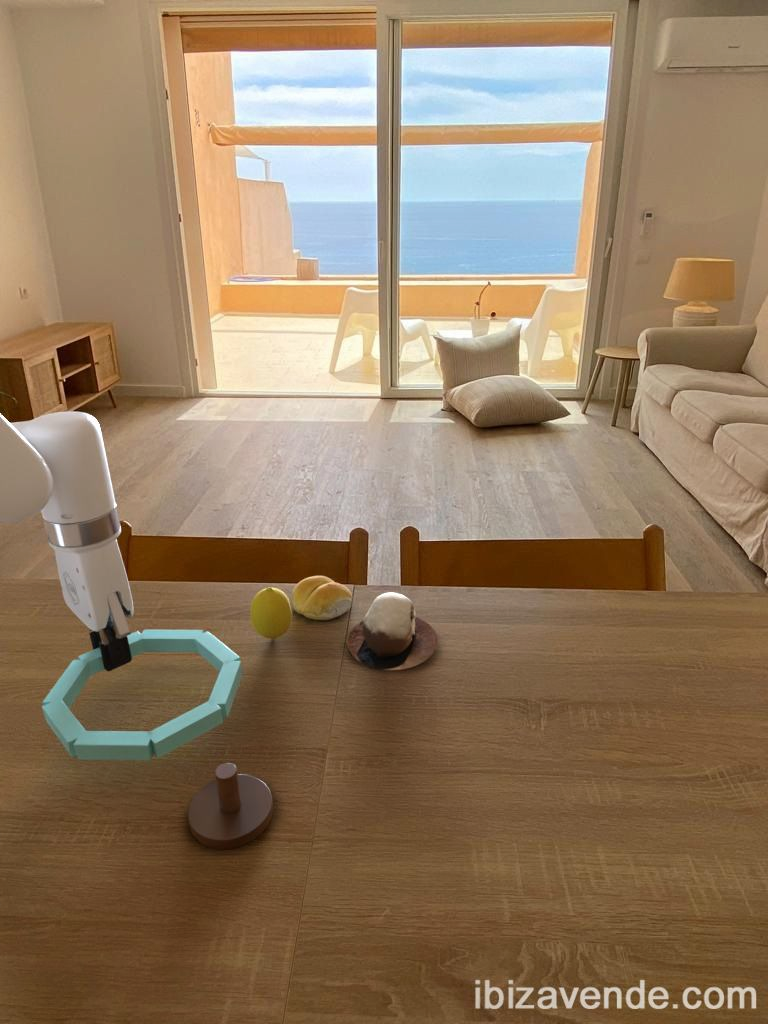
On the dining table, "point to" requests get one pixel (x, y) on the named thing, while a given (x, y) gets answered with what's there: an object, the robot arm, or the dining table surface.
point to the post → (230, 809)
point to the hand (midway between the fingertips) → (113, 659)
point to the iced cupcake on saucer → (392, 635)
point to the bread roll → (321, 598)
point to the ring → (163, 737)
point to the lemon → (271, 613)
